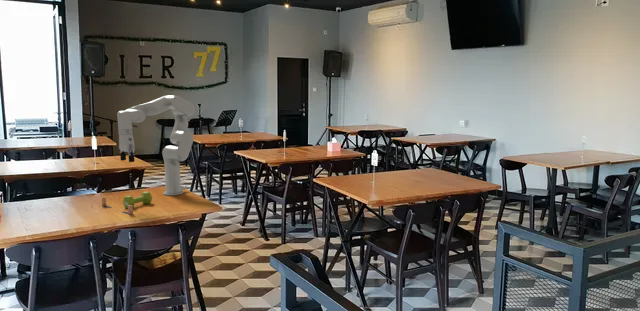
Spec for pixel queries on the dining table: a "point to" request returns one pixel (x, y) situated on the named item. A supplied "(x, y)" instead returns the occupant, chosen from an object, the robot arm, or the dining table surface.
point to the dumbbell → (137, 199)
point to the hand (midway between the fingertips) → (127, 161)
